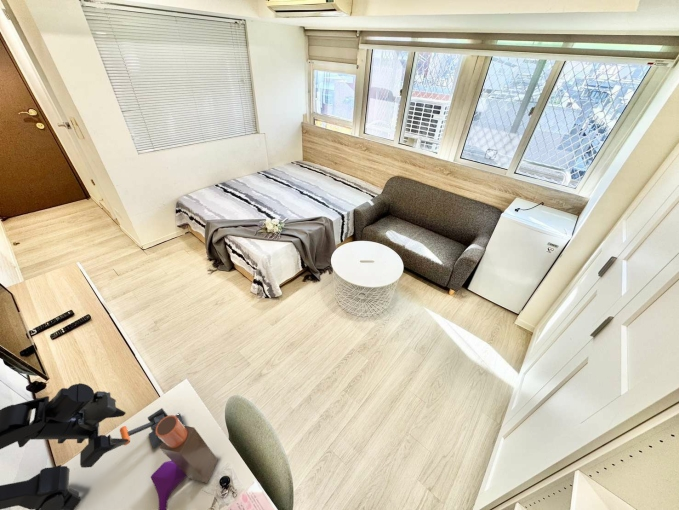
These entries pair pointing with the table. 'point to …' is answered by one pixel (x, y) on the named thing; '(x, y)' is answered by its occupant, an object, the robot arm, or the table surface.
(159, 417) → the switch lever
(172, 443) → the tea cup
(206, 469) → the cup stand
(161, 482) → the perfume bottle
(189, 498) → the table surface
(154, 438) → the switch base
